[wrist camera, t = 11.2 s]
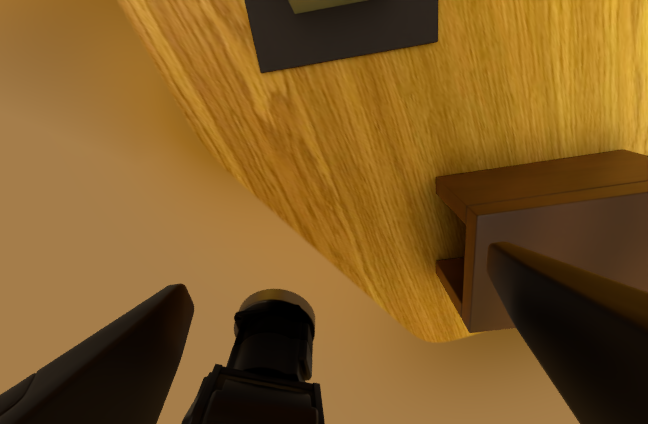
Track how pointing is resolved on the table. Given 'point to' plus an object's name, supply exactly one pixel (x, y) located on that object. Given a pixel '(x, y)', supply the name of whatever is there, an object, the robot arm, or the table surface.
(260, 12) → the mat
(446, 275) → the block
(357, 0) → the block
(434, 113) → the table surface
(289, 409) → the robot arm
